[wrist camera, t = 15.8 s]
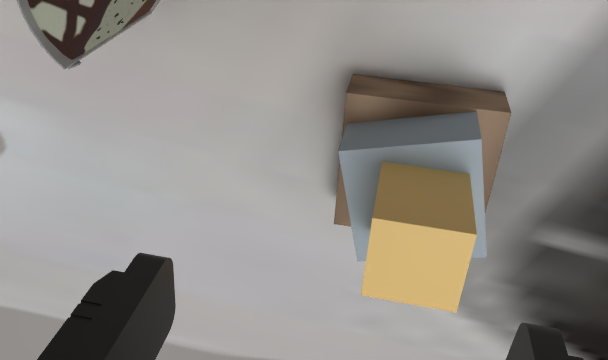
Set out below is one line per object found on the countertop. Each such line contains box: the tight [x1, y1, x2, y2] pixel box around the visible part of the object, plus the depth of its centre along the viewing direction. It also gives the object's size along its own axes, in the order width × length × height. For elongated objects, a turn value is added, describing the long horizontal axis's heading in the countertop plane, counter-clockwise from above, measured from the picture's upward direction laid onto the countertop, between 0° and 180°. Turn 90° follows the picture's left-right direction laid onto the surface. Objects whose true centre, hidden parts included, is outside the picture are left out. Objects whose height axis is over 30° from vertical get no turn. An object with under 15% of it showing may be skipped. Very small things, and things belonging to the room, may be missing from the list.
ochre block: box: [361, 161, 477, 312], centre depth 31 cm, size 5×5×6 cm
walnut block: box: [334, 74, 511, 226], centre depth 38 cm, size 10×10×4 cm
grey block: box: [338, 111, 487, 261], centre depth 35 cm, size 8×8×4 cm
